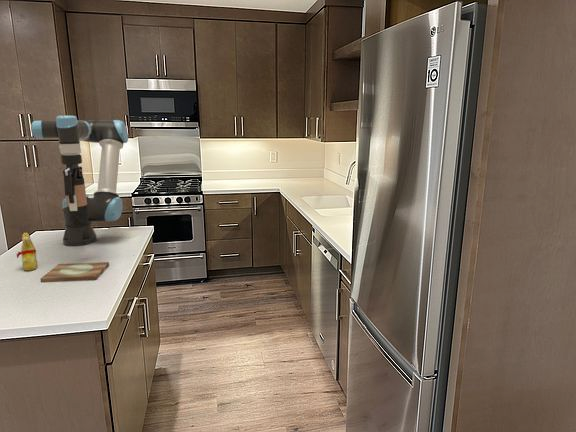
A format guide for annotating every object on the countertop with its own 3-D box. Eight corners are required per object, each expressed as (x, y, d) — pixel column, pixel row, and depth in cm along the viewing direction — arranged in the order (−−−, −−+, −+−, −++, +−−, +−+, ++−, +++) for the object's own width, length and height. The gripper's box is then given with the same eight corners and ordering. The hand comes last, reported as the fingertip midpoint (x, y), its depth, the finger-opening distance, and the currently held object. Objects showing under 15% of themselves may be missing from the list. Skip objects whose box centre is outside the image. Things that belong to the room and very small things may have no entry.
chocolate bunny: (38, 262, 176) (33, 228, 172) (37, 270, 166) (32, 234, 163) (19, 264, 172) (14, 230, 169) (17, 273, 163) (11, 237, 160)
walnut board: (59, 267, 170) (58, 263, 169) (109, 265, 172) (108, 261, 171) (40, 282, 154) (40, 277, 154) (96, 279, 156) (95, 275, 156)
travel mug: (81, 227, 170) (75, 180, 165) (65, 226, 171) (59, 179, 167) (93, 223, 177) (88, 177, 173) (78, 222, 179) (72, 176, 174)
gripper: (71, 152, 177) (77, 203, 182) (49, 156, 157) (57, 214, 162) (89, 152, 178) (95, 203, 183) (70, 156, 158) (77, 213, 163)
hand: (77, 208), depth 173 cm, fingers closed on travel mug, 8 cm apart
